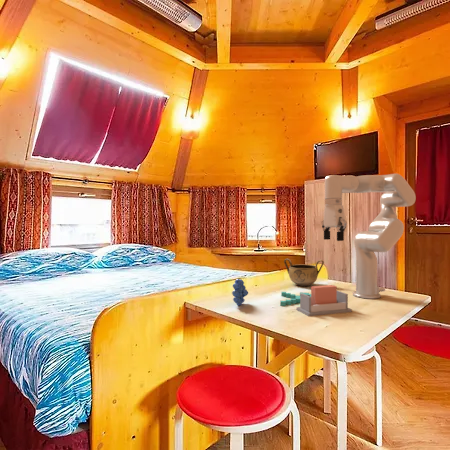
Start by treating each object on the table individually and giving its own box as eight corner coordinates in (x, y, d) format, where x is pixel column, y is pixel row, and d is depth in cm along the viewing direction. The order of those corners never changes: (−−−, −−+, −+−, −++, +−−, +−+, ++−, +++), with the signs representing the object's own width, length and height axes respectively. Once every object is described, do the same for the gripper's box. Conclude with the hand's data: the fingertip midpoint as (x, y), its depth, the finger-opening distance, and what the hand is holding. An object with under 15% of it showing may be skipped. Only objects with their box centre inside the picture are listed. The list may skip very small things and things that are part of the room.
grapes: (243, 310, 130) (243, 281, 130) (228, 308, 133) (228, 280, 133) (252, 303, 141) (252, 276, 141) (238, 301, 144) (238, 275, 144)
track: (337, 306, 137) (337, 289, 136) (351, 311, 128) (351, 294, 128) (296, 309, 131) (296, 293, 131) (308, 316, 122) (308, 298, 122)
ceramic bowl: (325, 284, 184) (325, 258, 184) (321, 289, 168) (321, 261, 168) (287, 281, 193) (287, 256, 193) (280, 286, 178) (280, 259, 178)
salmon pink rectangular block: (332, 306, 132) (332, 285, 132) (336, 308, 129) (336, 286, 129) (311, 308, 129) (311, 286, 129) (315, 310, 127) (315, 287, 126)
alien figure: (280, 306, 137) (328, 309, 133) (280, 301, 137) (328, 304, 133) (281, 296, 157) (323, 298, 153) (281, 291, 157) (323, 293, 153)
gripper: (353, 201, 137) (353, 241, 137) (328, 203, 153) (328, 238, 153) (338, 201, 134) (338, 241, 135) (315, 203, 151) (315, 239, 151)
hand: (333, 240), depth 144 cm, fingers open, 9 cm apart
